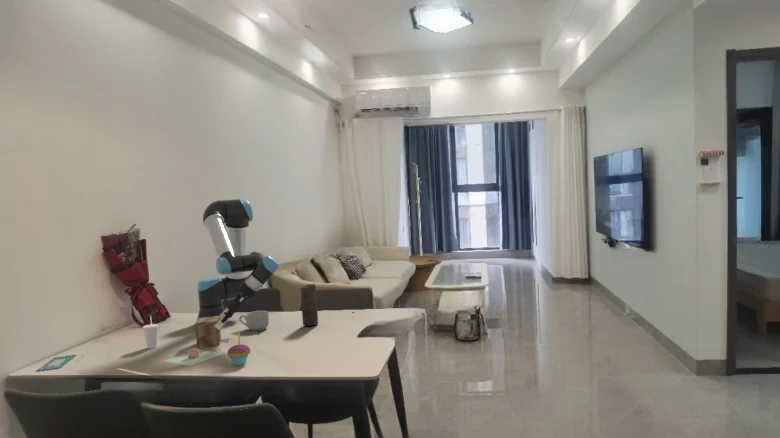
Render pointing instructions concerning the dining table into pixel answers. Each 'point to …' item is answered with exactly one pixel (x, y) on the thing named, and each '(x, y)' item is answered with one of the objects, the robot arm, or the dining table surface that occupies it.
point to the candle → (309, 305)
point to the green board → (185, 361)
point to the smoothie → (151, 334)
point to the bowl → (193, 353)
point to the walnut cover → (207, 332)
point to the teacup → (256, 320)
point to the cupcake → (238, 353)
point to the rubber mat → (225, 340)
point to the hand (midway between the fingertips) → (217, 324)
